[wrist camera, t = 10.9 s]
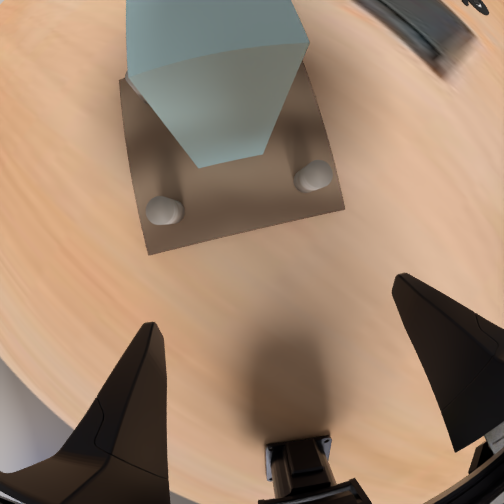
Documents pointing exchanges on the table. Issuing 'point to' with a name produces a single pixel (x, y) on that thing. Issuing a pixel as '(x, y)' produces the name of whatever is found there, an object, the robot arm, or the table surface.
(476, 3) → the black flat pronged piece
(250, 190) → the pin stand
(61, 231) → the table surface
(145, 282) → the table surface
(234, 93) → the block
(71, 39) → the table surface
